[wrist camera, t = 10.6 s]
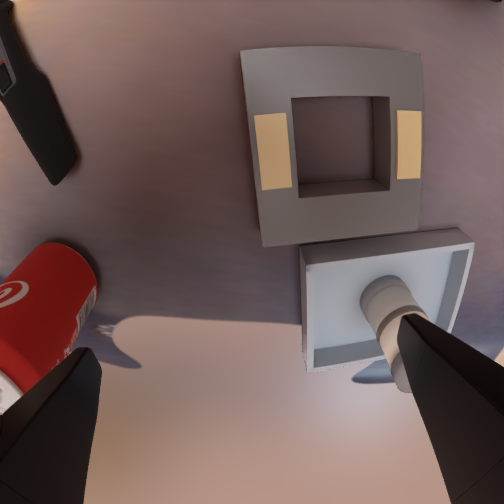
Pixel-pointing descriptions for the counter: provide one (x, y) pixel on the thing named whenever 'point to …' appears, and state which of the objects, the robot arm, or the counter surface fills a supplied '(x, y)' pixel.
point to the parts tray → (363, 273)
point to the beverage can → (41, 316)
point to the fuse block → (385, 141)
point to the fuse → (389, 319)
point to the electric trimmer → (32, 105)
